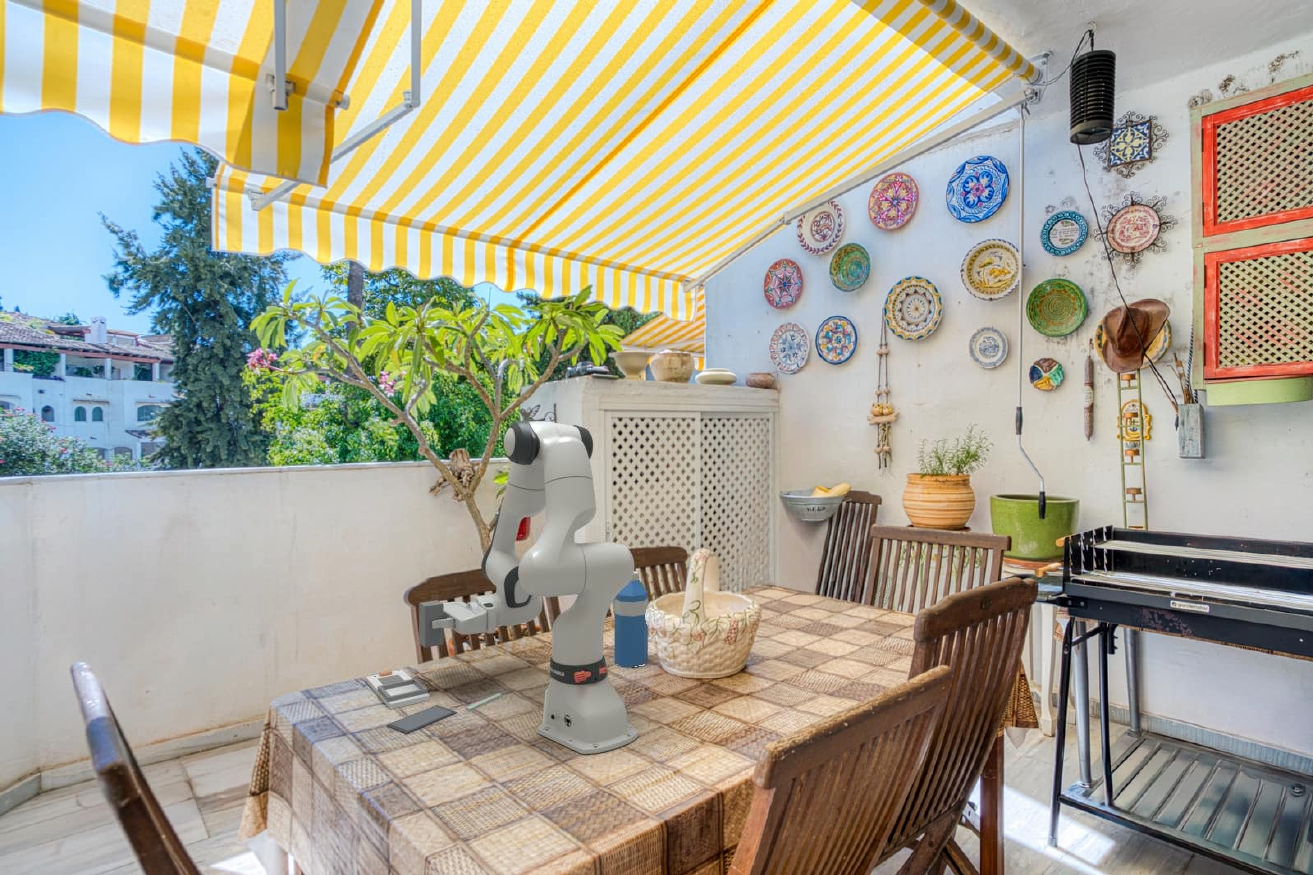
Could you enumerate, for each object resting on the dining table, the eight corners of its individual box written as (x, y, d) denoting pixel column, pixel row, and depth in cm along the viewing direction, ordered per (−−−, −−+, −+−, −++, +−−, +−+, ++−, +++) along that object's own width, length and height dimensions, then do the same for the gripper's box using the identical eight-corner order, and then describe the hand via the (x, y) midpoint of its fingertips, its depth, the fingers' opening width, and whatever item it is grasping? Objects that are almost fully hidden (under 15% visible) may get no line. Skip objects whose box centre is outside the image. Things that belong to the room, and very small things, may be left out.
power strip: (429, 700, 155) (429, 690, 155) (390, 709, 150) (390, 699, 150) (402, 674, 173) (402, 665, 173) (365, 681, 167) (365, 673, 167)
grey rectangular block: (443, 644, 161) (443, 603, 161) (425, 647, 159) (425, 606, 159) (437, 639, 165) (437, 600, 165) (419, 643, 162) (419, 602, 162)
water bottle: (633, 670, 176) (633, 577, 176) (607, 663, 181) (607, 573, 182) (654, 661, 183) (654, 571, 183) (629, 654, 189) (629, 568, 189)
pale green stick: (498, 697, 158) (498, 693, 158) (501, 698, 157) (501, 694, 157) (466, 712, 150) (466, 707, 150) (469, 713, 149) (469, 708, 149)
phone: (456, 715, 148) (456, 711, 148) (406, 737, 137) (406, 732, 137) (436, 708, 152) (436, 704, 152) (386, 729, 141) (386, 724, 141)
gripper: (466, 593, 178) (414, 601, 170) (497, 608, 162) (441, 617, 153) (466, 616, 178) (414, 625, 170) (497, 634, 162) (441, 644, 153)
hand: (427, 622), depth 161 cm, fingers closed on grey rectangular block, 4 cm apart
